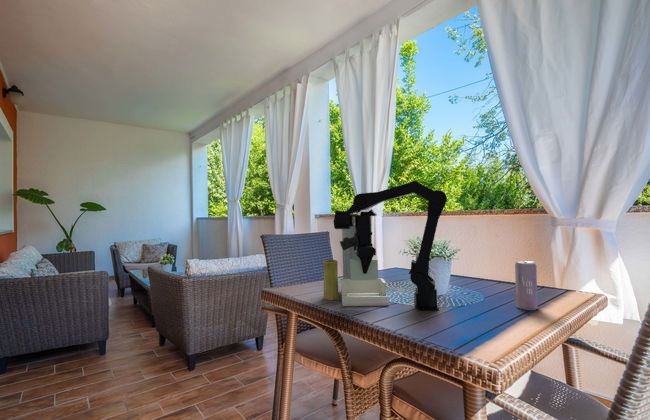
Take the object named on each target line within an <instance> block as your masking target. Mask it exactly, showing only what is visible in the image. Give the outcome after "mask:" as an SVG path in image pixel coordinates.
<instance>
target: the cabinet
mask: <svg viewBox="0 0 650 420" xmlns="http://www.w3.org/2000/svg"><path fill="white" fill-rule="evenodd" d="M340 280H341V282H340V286H341V294H340V295H341V302H342V305H341V306H343V307H358V306H359V307H360V306H361V307H365V306H366V307H368V306H370V307H371V306H390V301H389V300H390V297H389V295H387V282H386V281H385V279H384V278H380V277H378V280H351V279H343V278H341V279H340Z"/></svg>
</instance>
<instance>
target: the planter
mask: <svg viewBox="0 0 650 420" xmlns="http://www.w3.org/2000/svg"><path fill="white" fill-rule="evenodd" d="M354 233H355V224H354V226H352V228H351V229H341V234H342V235H341V237H342V238H341V241H342V240H343V238H346V237H348V238H350V237H353V236H354ZM341 249H342V248H341ZM355 252H356V251H354V246H353V247H350V248H348V249H347V250H344V251H343V249H342V279H350V259H359V257H358V256H357V255H356V254H355Z"/></svg>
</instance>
